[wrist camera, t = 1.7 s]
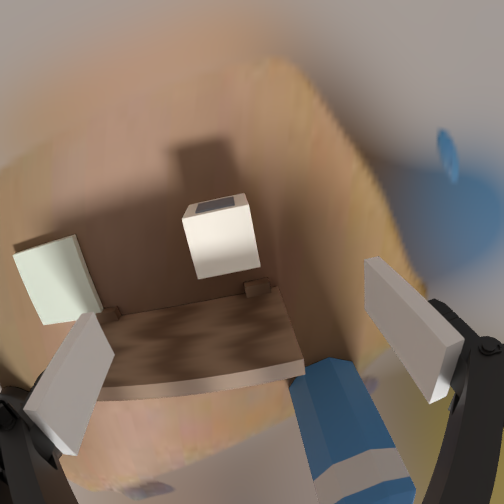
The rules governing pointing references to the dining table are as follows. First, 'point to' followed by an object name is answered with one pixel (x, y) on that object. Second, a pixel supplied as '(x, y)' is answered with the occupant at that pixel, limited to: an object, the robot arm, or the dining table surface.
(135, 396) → the walnut screen
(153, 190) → the dining table surface
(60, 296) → the coaster
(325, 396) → the water bottle
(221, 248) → the white cube
